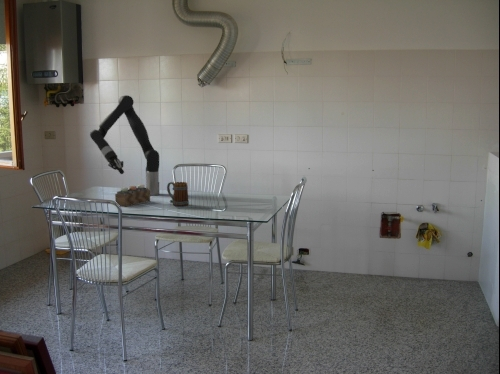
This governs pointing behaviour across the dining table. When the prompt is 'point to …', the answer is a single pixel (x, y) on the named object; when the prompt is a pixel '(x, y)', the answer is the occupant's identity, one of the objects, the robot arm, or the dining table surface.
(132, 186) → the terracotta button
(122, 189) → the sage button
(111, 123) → the robot arm
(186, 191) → the mug
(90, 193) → the dining table surface
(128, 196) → the wooden egg crate
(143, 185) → the cream egg
